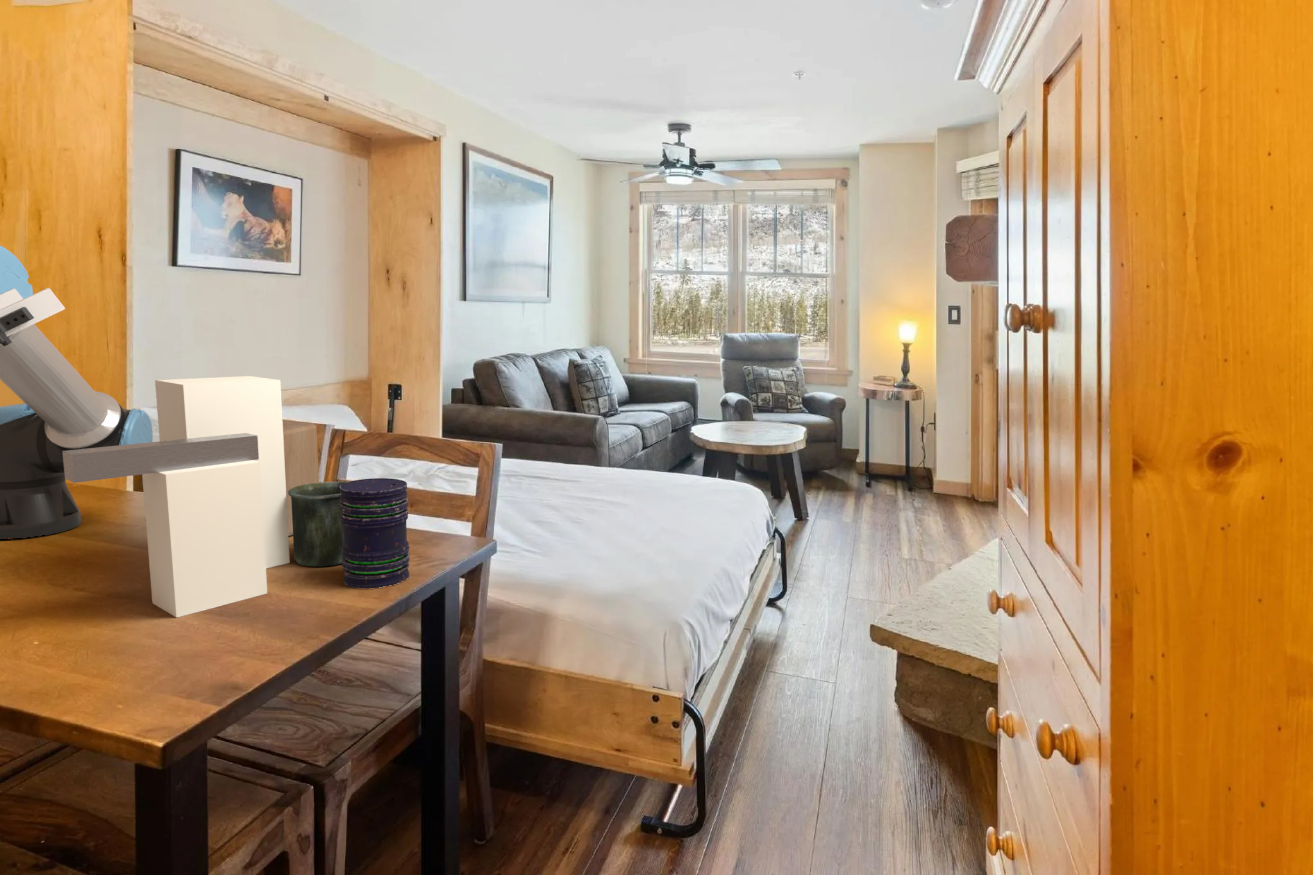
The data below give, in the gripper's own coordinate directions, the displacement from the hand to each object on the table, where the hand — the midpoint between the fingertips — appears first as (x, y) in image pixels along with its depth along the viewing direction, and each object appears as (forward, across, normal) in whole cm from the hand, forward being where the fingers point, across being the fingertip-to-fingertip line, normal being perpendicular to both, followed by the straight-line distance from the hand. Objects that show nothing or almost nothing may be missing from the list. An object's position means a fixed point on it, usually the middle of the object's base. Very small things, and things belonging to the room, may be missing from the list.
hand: (38, 298), depth 93 cm
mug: (+11, 0, -55) cm, 56 cm away
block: (+13, -22, -56) cm, 61 cm away
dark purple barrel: (+10, +15, -54) cm, 57 cm away
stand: (-1, -7, -48) cm, 48 cm away
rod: (-1, +5, -25) cm, 25 cm away
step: (-8, +5, -44) cm, 45 cm away
